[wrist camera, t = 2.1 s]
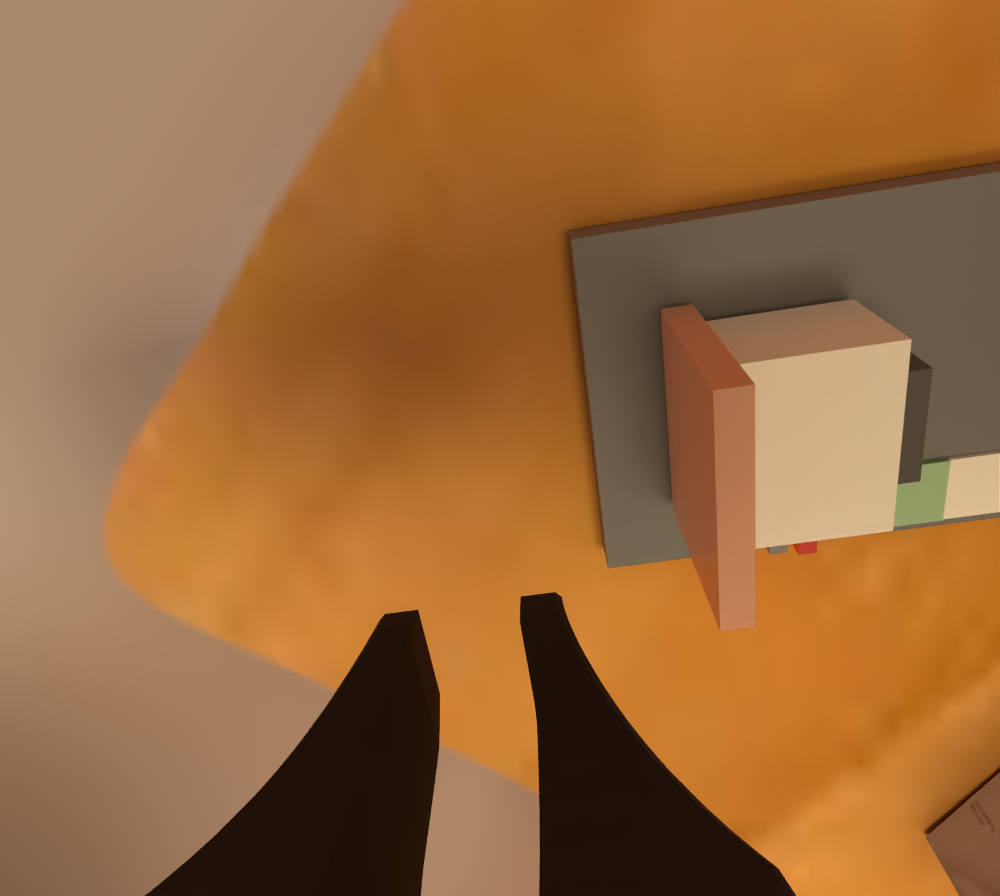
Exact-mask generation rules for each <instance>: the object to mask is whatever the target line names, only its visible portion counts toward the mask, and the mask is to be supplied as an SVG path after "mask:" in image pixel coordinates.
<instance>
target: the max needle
mask: <svg viewBox="0 0 1000 896" xmlns="http://www.w3.org/2000/svg"><path fill="white" fill-rule="evenodd" d="M793 546H794V548H795V549H796V551H797V553H798V554H799V555H800V554H807V553H815V552H817V541H812V542H804V543H796V544H793Z"/></svg>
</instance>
